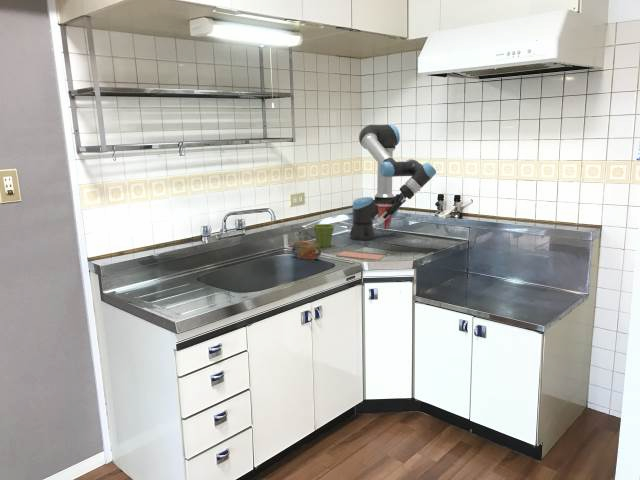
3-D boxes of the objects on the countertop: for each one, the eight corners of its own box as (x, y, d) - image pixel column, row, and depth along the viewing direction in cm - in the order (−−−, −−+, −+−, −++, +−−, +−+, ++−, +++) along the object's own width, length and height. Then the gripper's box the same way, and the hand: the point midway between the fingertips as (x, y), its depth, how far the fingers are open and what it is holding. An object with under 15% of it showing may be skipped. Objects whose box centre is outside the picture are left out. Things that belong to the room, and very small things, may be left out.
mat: (344, 252, 270) (344, 251, 270) (384, 256, 260) (384, 255, 260) (335, 256, 261) (335, 255, 261) (377, 260, 252) (377, 259, 252)
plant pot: (326, 249, 277) (326, 228, 275) (308, 246, 284) (308, 226, 282) (339, 245, 286) (339, 225, 284) (321, 243, 293) (321, 223, 291)
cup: (392, 227, 271) (393, 203, 269) (393, 229, 263) (394, 206, 261) (374, 226, 272) (375, 203, 270) (374, 229, 264) (375, 205, 262)
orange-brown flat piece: (292, 257, 259) (291, 240, 258) (295, 256, 262) (295, 239, 261) (319, 260, 253) (319, 243, 251) (322, 259, 255) (322, 242, 254)
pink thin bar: (347, 250, 273) (347, 250, 273) (387, 255, 264) (387, 254, 264) (345, 251, 271) (345, 251, 271) (385, 256, 262) (385, 255, 262)
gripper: (419, 196, 255) (386, 229, 258) (410, 191, 275) (378, 222, 277) (409, 185, 254) (375, 219, 256) (400, 181, 274) (369, 212, 276)
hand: (377, 221), depth 267 cm, fingers closed on cup, 7 cm apart
